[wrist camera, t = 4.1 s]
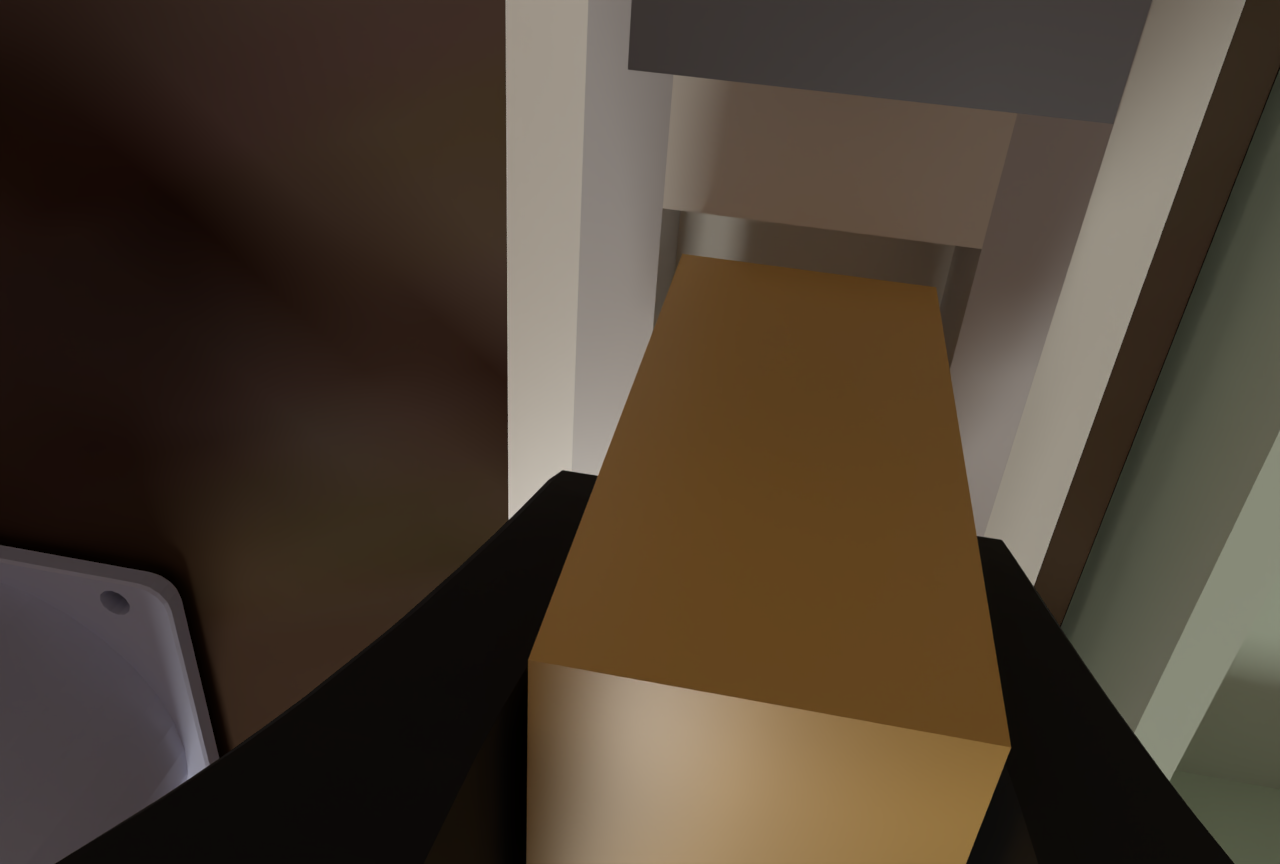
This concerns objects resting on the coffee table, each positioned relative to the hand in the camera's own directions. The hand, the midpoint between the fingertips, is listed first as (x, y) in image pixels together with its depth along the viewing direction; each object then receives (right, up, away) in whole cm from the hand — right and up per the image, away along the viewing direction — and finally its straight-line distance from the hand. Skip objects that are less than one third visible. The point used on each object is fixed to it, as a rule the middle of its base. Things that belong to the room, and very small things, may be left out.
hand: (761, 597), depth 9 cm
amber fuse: (0, +1, +2) cm, 2 cm away
